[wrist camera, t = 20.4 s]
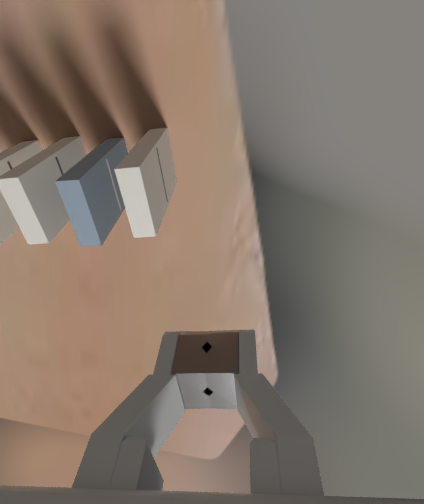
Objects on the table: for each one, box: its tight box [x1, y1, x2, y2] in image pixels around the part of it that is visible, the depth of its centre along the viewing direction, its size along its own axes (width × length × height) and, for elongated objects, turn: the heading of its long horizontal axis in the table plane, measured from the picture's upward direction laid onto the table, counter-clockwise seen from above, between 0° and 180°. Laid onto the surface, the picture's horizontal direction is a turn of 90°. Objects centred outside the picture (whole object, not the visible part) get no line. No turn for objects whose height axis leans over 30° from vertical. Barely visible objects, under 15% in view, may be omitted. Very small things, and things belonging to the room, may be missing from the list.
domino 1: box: [0, 140, 43, 244], centre depth 26 cm, size 2×5×10 cm, turn 6°
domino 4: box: [114, 128, 177, 238], centre depth 25 cm, size 2×5×10 cm, turn 6°
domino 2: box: [0, 136, 86, 244], centre depth 25 cm, size 2×5×10 cm, turn 6°
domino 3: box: [55, 137, 128, 246], centre depth 25 cm, size 2×5×10 cm, turn 5°
